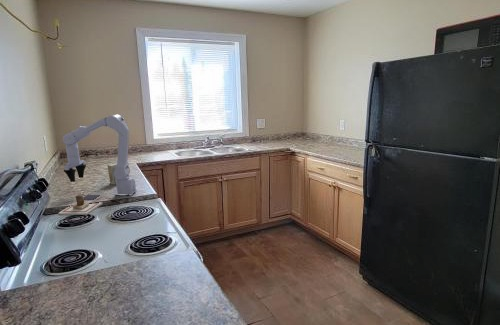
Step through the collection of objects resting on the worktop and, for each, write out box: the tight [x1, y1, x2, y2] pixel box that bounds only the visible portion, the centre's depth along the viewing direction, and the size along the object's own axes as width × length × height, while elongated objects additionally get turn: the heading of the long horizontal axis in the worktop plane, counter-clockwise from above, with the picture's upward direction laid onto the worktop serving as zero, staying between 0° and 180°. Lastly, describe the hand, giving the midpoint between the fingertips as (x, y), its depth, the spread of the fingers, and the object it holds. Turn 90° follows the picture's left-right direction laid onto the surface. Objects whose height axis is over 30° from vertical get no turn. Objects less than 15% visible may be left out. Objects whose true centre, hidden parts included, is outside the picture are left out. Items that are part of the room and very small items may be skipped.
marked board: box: [57, 201, 103, 216], centre depth 152 cm, size 14×14×1 cm
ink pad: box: [83, 194, 103, 200], centre depth 165 cm, size 8×8×2 cm
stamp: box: [73, 194, 89, 209], centre depth 151 cm, size 5×5×6 cm
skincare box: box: [107, 162, 117, 185], centre depth 193 cm, size 6×4×12 cm
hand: (77, 179), depth 169 cm, fingers open, 7 cm apart
